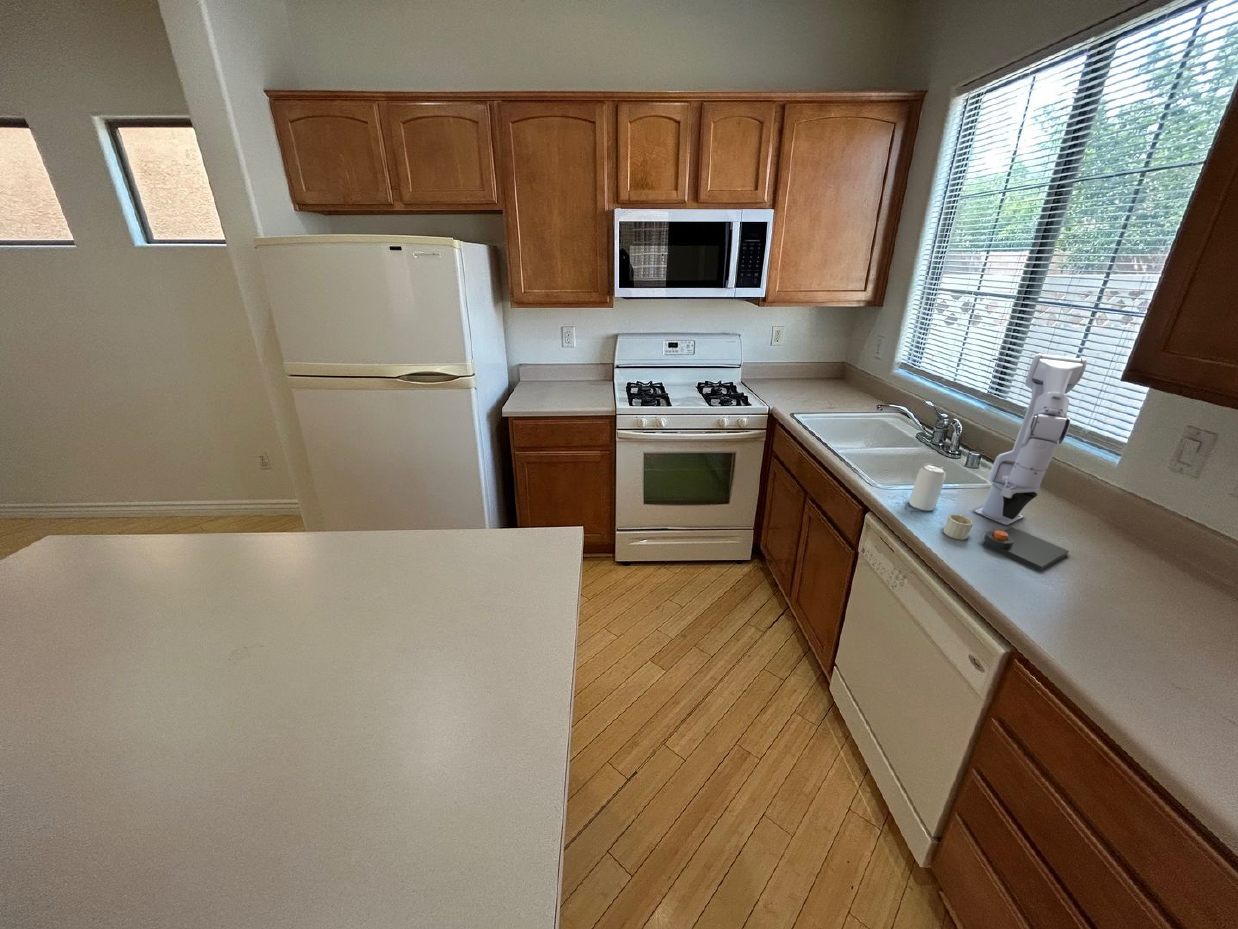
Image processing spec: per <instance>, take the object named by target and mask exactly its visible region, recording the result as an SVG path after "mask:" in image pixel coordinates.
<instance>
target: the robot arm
mask: <svg viewBox="0 0 1238 929" xmlns="http://www.w3.org/2000/svg"><path fill="white" fill-rule="evenodd" d="M1087 364H1088V361H1087V360H1086V358H1085V357H1081V358H1080V357H1079V358H1078V357H1071V356H1062V355H1053V354H1045V353H1041V352H1038V353H1036V354H1035V355H1034V357H1033V359H1032V360H1031V364H1030V366H1029V369H1028V372H1027V375H1026V378H1025V380H1024V381H1025V384H1024V385H1025V386H1026V387H1027V388H1029V389H1030V390H1031V398H1030V401H1029V403H1028V406H1027V409H1026V411H1025V414H1024V417H1023V420H1022V422H1021V425H1020V428H1019V431H1018V434H1017V436H1016V439H1015V441H1014V445H1013V447H1012V450H1009V451H1006V452H1003V453H999V454H998V455H997V456H996V457H995V459H994V461H993V463H992V466H991V468H990V471H989V473H988V477H987V478H988V479H987V480H988V482H989V483H991V486H990V488H989V490H988V493H987V496H986V498H985V501H984V504H983V506H982V507H980V508H977V509H975V510H974V513H976V514H978V515H980V516H983V517H985V518H988V519H990V520H992V521H995V522H997V523H1000V524H1001V525H1004V526H1007V525H1010V524H1012V523H1014V522H1016V521H1019V520H1021V519H1022V518H1024V516H1023V514H1021V511H1022V510H1023V509H1024V508H1025V507H1026V506H1027V505H1028V504H1029V503H1030V502H1031V501H1032V500H1034V499H1035V498H1036V497H1038V493H1037V492H1039V490H1040V488H1041V484H1042V482H1043V479H1044V476H1045V474H1046V473H1047V470H1048V468H1049V466H1050V463H1051V461H1052V458H1053V456H1054V454H1055V452H1056V451H1057V448H1058V446H1059V445H1061V444H1062V443H1063V441H1064V440H1065V439H1066V436H1067V435H1068V432H1069V431H1070V430H1069V429H1070V426H1071V417H1070V415H1068V411H1069V405H1070V399H1069V398H1068V396H1067V395H1066V393H1070V392H1071V391H1072V390H1073V389H1074V388H1075V386H1076V385H1077V384H1078V383H1079V382H1080V381H1081V380H1082V377H1083V375H1084V373H1085V371H1086V368H1087ZM1006 461H1007V462H1006ZM1011 462H1012V463H1011Z"/></svg>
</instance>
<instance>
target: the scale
mask: <svg viewBox="0 0 1238 929" xmlns="http://www.w3.org/2000/svg"><path fill="white" fill-rule="evenodd" d="M995 531H996V530H989V531H986V532H985V534H984V537H983V539H984V541H983V543H982V546H984V547H986V548H988V549H991V550H993V551H995V552H997V553H999V554H1001V555H1003V556H1006V557H1008V558H1010V559H1012V560H1014V561H1016V562H1018V563H1020V564H1023V565H1024V566H1027V567H1029V568H1032V569H1033V570H1036V571H1038V572H1041V571H1043V570H1045V569H1046V568H1049V566H1051V565H1054V564H1056V562H1059V561H1060V560H1061V559H1063V558H1065V557H1067V556H1068V554H1069V550H1068V549H1065V548H1063V547H1061V546H1059V545H1056V544H1054V543H1051V542H1049V541H1047V540H1044V539H1042V538H1039V537H1037V536H1035V535H1032V534H1031V533H1028V532H1026V531H1022V530H1020V529H1018V528H1016V527H1013V526H1012V527H1010V528H1008V529H1006V530H1003V531H1004V532H1006V533H1007V534H1008V537H1007V539H1006V541H1003V540H999V539H996V538H994V537H993V535H994V532H995Z"/></svg>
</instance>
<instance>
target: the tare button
mask: <svg viewBox="0 0 1238 929" xmlns="http://www.w3.org/2000/svg"><path fill="white" fill-rule="evenodd" d="M994 531H995V532H994V535H993V537H994V538H996V539H999V540H1003V541H1006V539H1007V537H1008V534H1007V533H1006V532H1004V531H1005V530H1000V529H996V530H994Z"/></svg>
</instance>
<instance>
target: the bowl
mask: <svg viewBox="0 0 1238 929" xmlns="http://www.w3.org/2000/svg"><path fill="white" fill-rule="evenodd" d="M973 525H974V521H973V520H972V519H971V518H969V517H967V516H965V515H961V514H959V513H958V514H957V513H951V514H949V515H948V517H947V519H946V523H945V525H944V528H943V533H944V534H945V535H946V536H948V537H950V538H953V539H956V540H961V541H963V540H967V539H968V538H969V535H970V532H971V530H972V527H973Z"/></svg>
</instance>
